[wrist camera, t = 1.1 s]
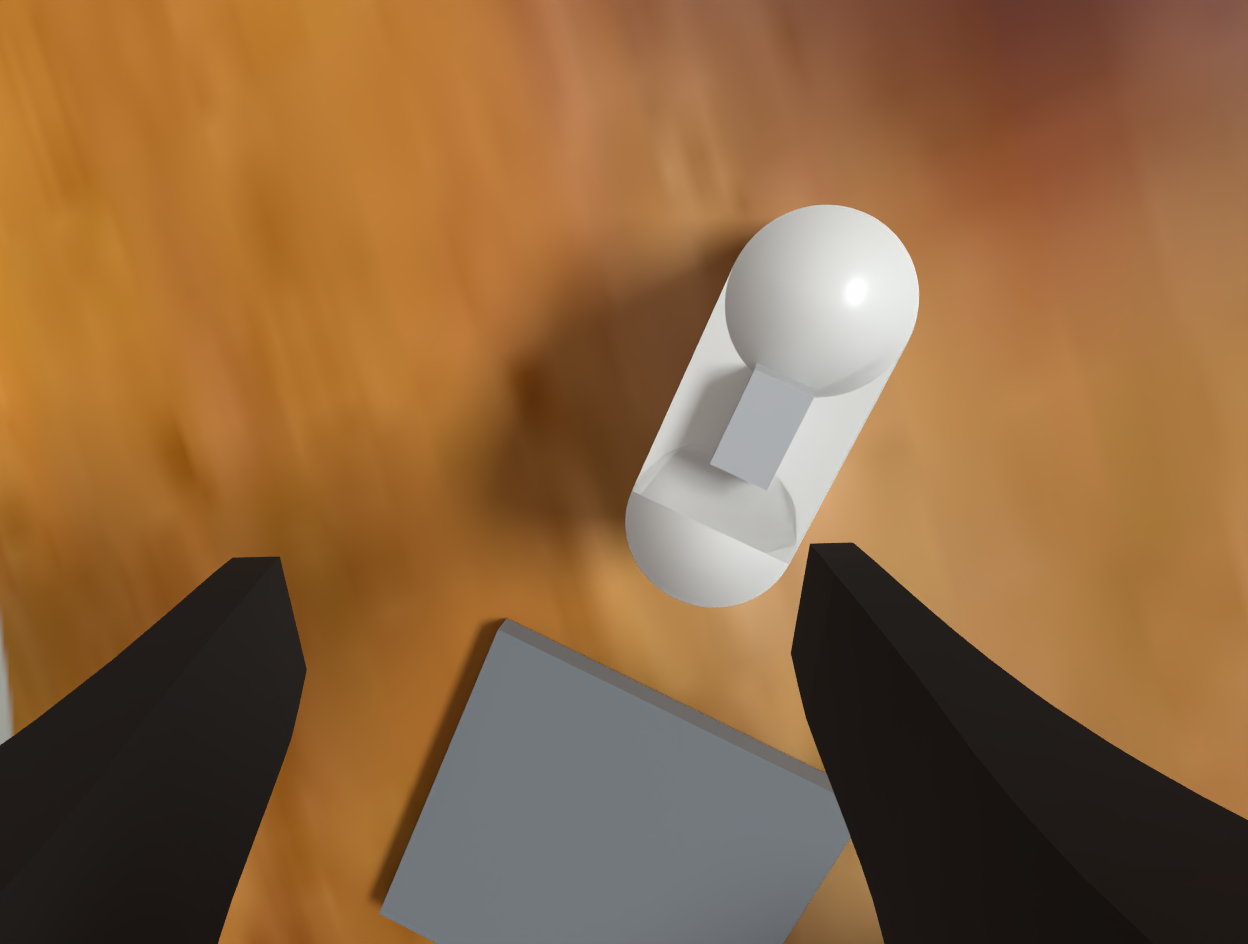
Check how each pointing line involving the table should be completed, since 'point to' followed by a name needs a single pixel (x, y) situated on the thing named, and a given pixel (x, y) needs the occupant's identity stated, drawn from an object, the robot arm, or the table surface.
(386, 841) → the table surface
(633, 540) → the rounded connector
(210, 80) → the table surface
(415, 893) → the slate mat
